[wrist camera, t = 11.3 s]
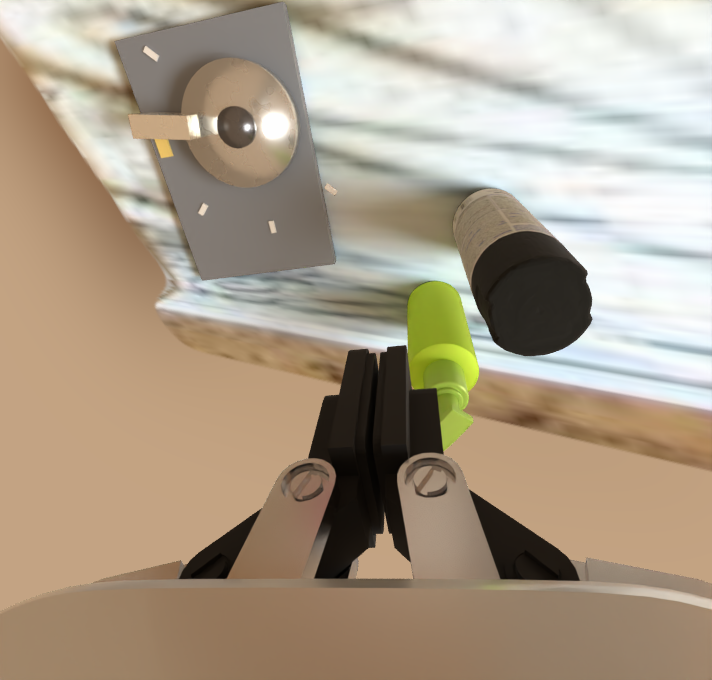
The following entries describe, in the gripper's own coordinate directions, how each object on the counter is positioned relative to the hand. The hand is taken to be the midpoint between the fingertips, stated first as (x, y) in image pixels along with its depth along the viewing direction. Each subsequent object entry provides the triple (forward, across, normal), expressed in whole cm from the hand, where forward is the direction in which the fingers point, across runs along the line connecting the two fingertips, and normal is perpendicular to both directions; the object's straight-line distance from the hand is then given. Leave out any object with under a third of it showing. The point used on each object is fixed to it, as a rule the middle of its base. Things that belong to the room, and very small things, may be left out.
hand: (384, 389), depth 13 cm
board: (+33, +15, -4) cm, 37 cm away
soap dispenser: (+33, -2, +14) cm, 36 cm away
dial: (+32, +15, -7) cm, 36 cm away
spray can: (+33, -8, +5) cm, 35 cm away
